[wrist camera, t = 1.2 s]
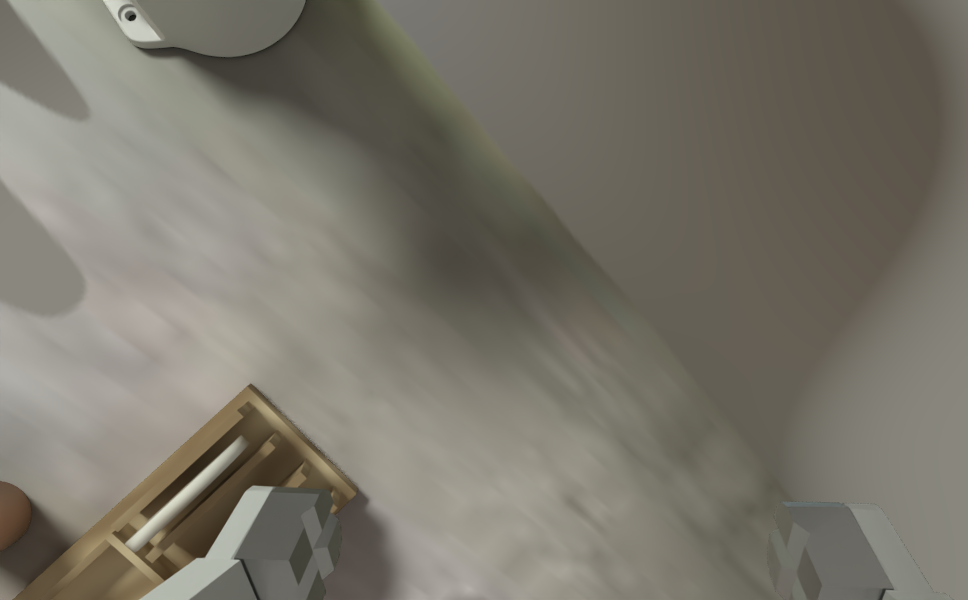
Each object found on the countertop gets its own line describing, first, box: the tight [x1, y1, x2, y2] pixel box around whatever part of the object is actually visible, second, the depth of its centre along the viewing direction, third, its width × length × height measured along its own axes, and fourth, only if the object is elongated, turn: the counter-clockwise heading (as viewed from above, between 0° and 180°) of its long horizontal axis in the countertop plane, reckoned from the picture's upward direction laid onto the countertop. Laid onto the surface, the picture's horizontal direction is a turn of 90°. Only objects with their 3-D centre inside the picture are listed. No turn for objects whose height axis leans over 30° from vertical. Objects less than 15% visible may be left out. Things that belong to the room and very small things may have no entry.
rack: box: [13, 384, 357, 600], centre depth 43 cm, size 13×24×12 cm, turn 133°
